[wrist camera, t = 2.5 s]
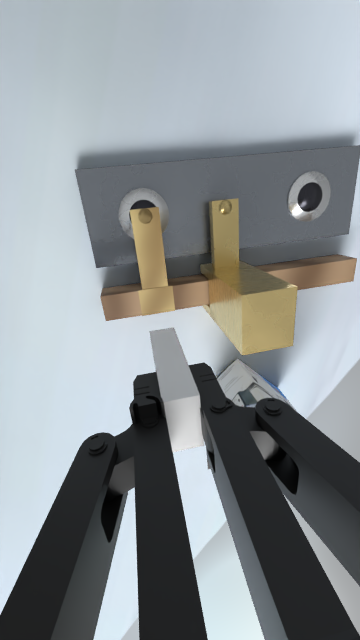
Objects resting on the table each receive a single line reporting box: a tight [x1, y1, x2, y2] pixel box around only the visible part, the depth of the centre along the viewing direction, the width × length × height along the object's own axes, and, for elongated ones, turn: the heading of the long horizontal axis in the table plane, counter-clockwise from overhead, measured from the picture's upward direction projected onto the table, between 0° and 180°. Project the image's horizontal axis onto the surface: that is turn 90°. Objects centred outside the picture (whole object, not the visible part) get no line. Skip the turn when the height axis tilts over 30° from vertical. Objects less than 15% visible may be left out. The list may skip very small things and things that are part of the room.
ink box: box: [217, 359, 298, 413], centre depth 30 cm, size 9×5×12 cm, turn 50°
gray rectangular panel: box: [75, 145, 360, 268], centre depth 26 cm, size 26×8×1 cm, turn 96°
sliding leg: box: [200, 198, 297, 355], centre depth 23 cm, size 4×10×11 cm, turn 6°
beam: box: [101, 207, 357, 321], centre depth 27 cm, size 26×9×3 cm, turn 96°
